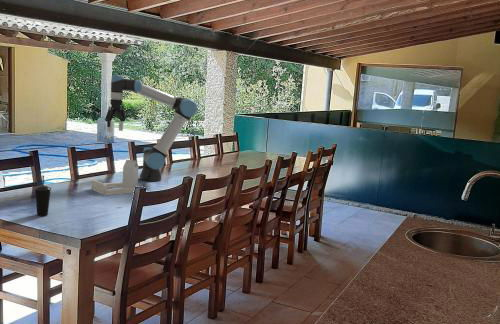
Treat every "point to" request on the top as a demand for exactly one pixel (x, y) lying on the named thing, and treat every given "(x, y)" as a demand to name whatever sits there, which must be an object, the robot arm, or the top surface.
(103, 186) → the bay
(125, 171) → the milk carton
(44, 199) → the drinking cup
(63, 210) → the top surface
